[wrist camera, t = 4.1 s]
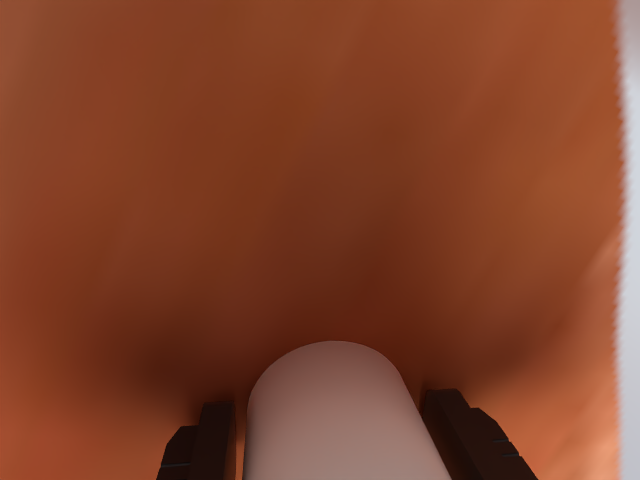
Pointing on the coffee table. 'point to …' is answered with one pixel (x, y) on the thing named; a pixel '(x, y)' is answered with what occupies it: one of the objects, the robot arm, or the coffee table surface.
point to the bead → (336, 420)
